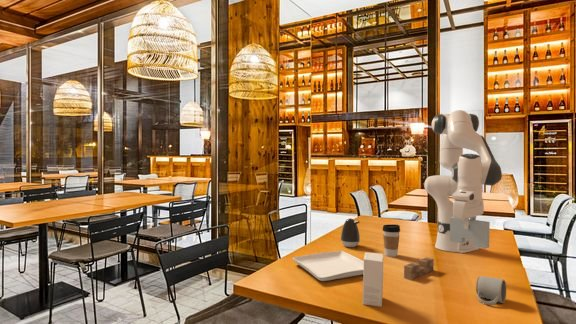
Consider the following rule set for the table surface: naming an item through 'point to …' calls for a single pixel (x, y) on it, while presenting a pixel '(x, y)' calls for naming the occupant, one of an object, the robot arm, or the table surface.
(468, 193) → the robot arm
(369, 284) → the skincare box
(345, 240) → the pump dispenser
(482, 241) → the grey flat block
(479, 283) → the ceramic mug
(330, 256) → the square plate
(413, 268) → the walnut rail
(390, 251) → the coffee cup
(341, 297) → the table surface
